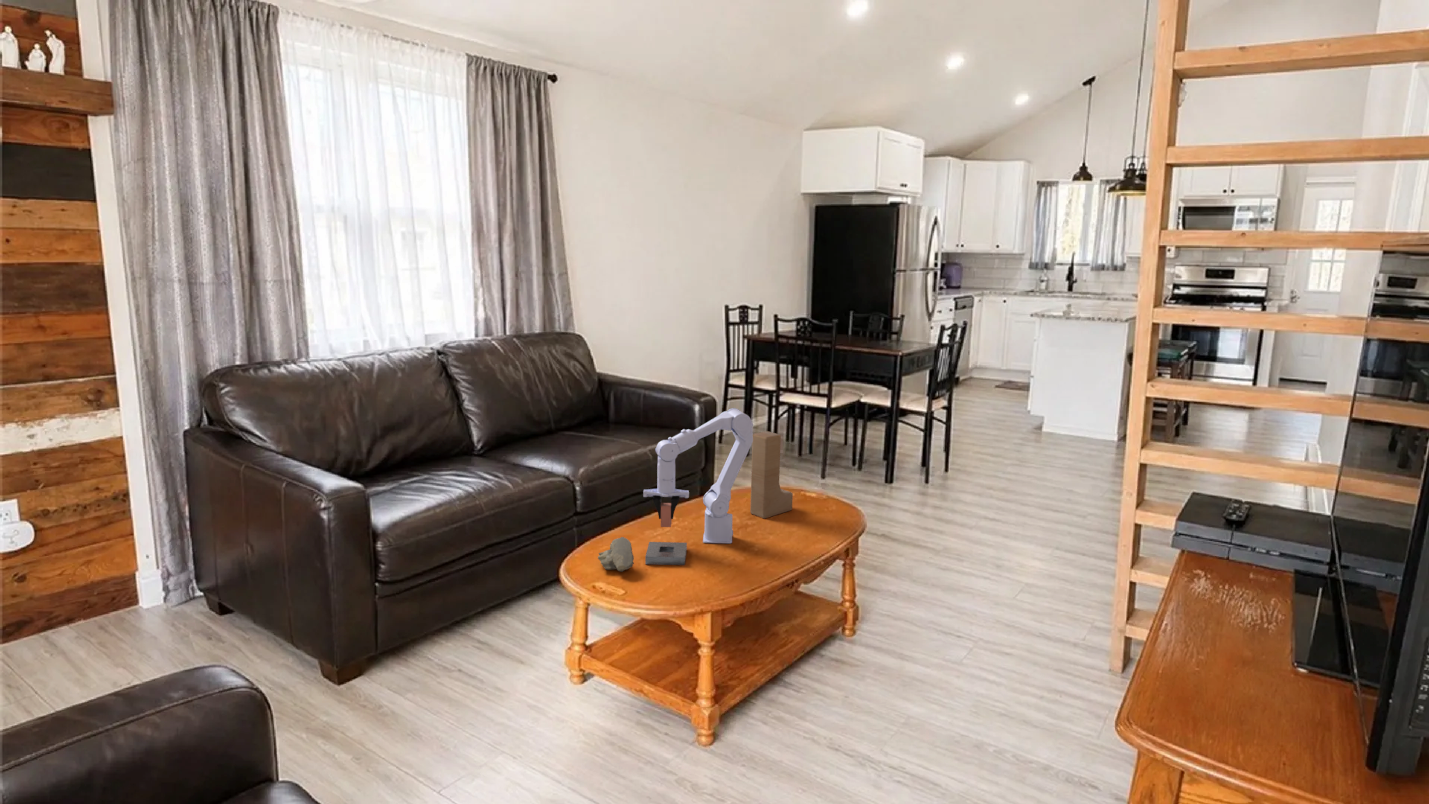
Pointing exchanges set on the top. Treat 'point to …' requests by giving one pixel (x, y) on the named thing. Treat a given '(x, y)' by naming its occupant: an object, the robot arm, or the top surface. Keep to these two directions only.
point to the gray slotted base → (666, 553)
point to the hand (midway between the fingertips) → (666, 518)
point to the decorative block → (767, 477)
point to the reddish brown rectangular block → (666, 515)
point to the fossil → (617, 555)
